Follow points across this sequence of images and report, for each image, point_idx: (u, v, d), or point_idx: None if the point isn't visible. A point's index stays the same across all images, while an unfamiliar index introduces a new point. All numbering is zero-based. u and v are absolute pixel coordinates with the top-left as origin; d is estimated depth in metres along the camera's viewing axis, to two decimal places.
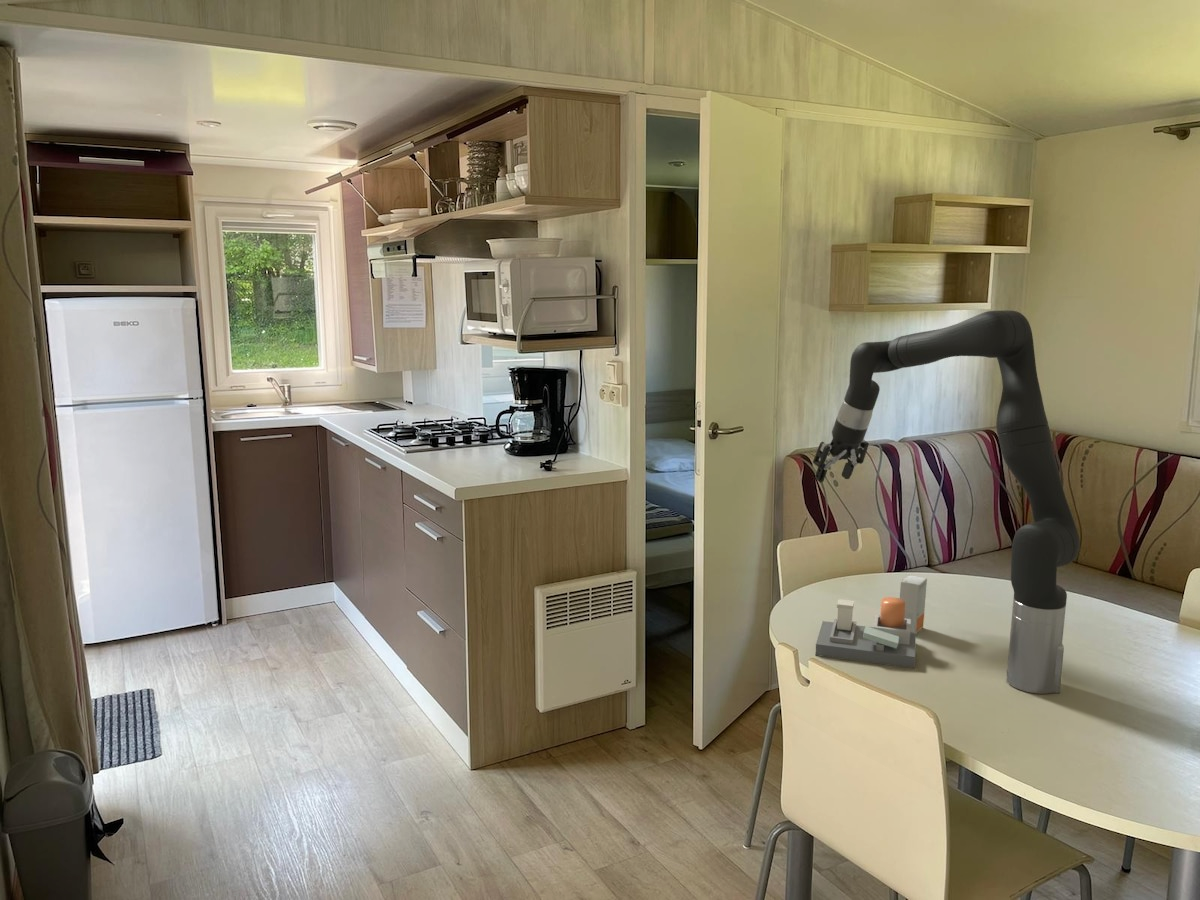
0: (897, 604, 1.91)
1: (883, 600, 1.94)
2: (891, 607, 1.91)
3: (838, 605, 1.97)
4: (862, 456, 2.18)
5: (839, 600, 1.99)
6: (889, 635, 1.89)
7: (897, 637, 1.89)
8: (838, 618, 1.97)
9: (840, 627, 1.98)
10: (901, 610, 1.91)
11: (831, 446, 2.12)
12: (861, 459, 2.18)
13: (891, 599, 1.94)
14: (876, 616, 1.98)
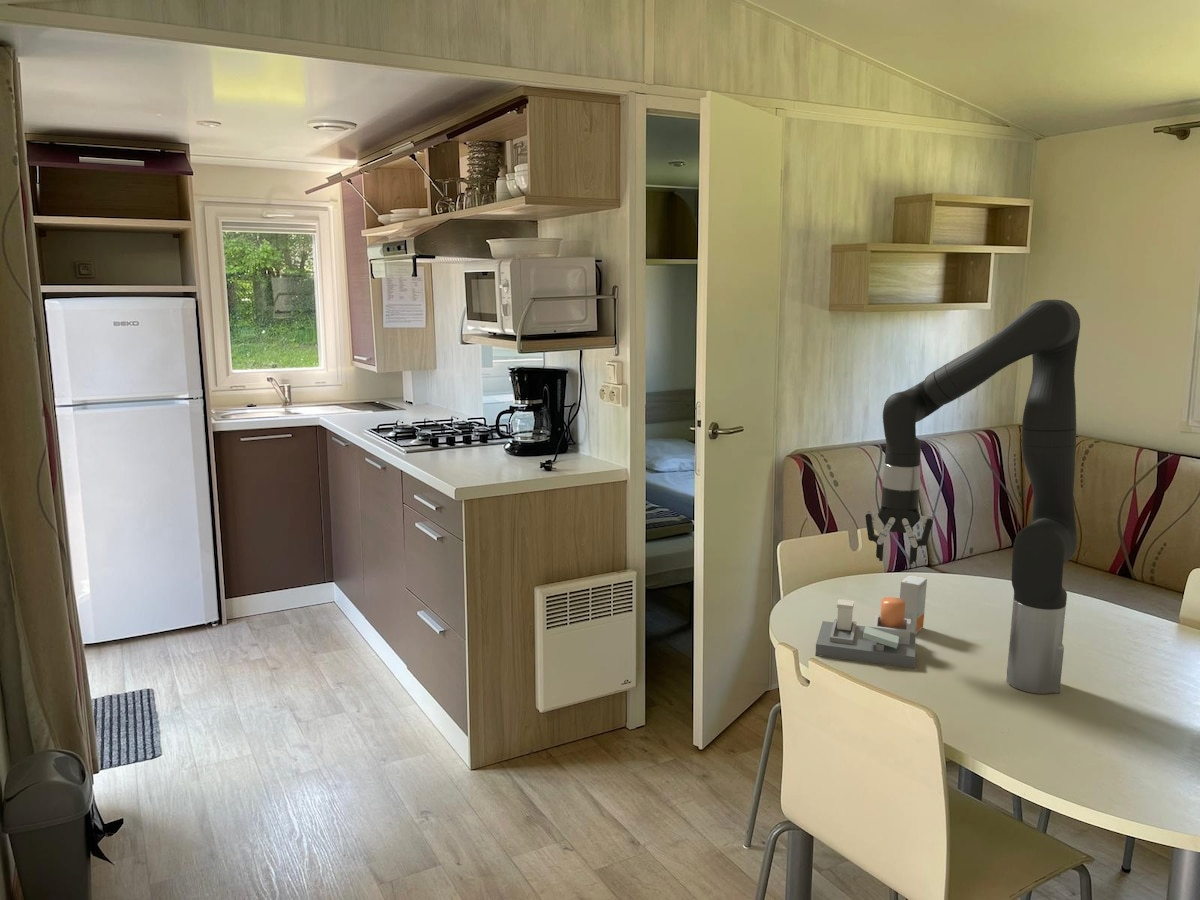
0: (897, 604, 1.91)
1: (883, 600, 1.94)
2: (891, 607, 1.91)
3: (838, 605, 1.97)
4: (924, 535, 1.88)
5: (839, 600, 1.99)
6: (889, 635, 1.89)
7: (897, 637, 1.89)
8: (838, 618, 1.97)
9: (840, 627, 1.98)
10: (901, 610, 1.91)
11: (876, 514, 1.91)
12: (922, 539, 1.88)
13: (891, 599, 1.94)
14: (876, 616, 1.98)
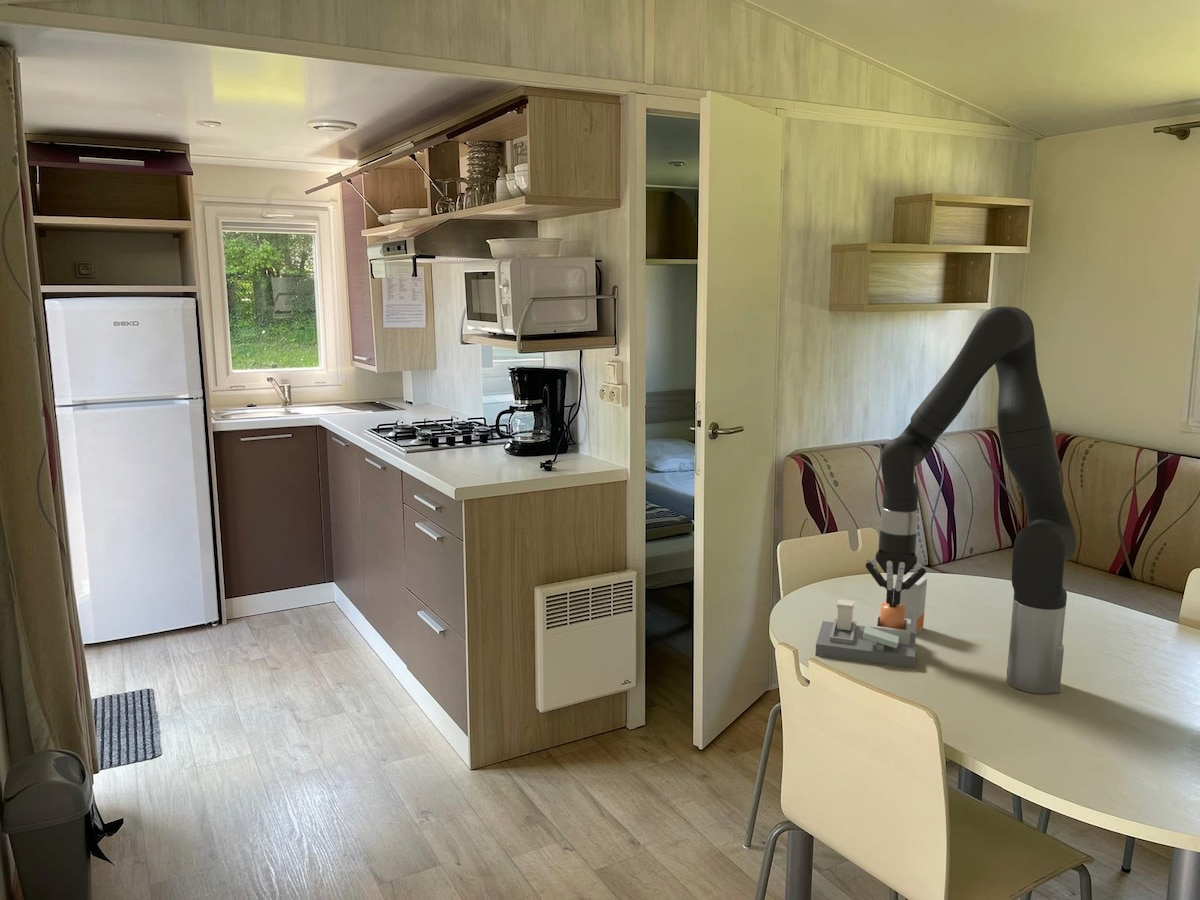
0: (897, 609, 1.92)
1: (883, 605, 1.94)
2: (891, 612, 1.91)
3: (838, 605, 1.97)
4: (911, 581, 1.90)
5: (839, 600, 1.99)
6: (889, 635, 1.89)
7: (897, 637, 1.89)
8: (838, 618, 1.97)
9: (840, 627, 1.98)
10: (900, 614, 1.91)
11: (874, 560, 1.93)
12: (906, 583, 1.91)
13: None
14: (876, 616, 1.98)
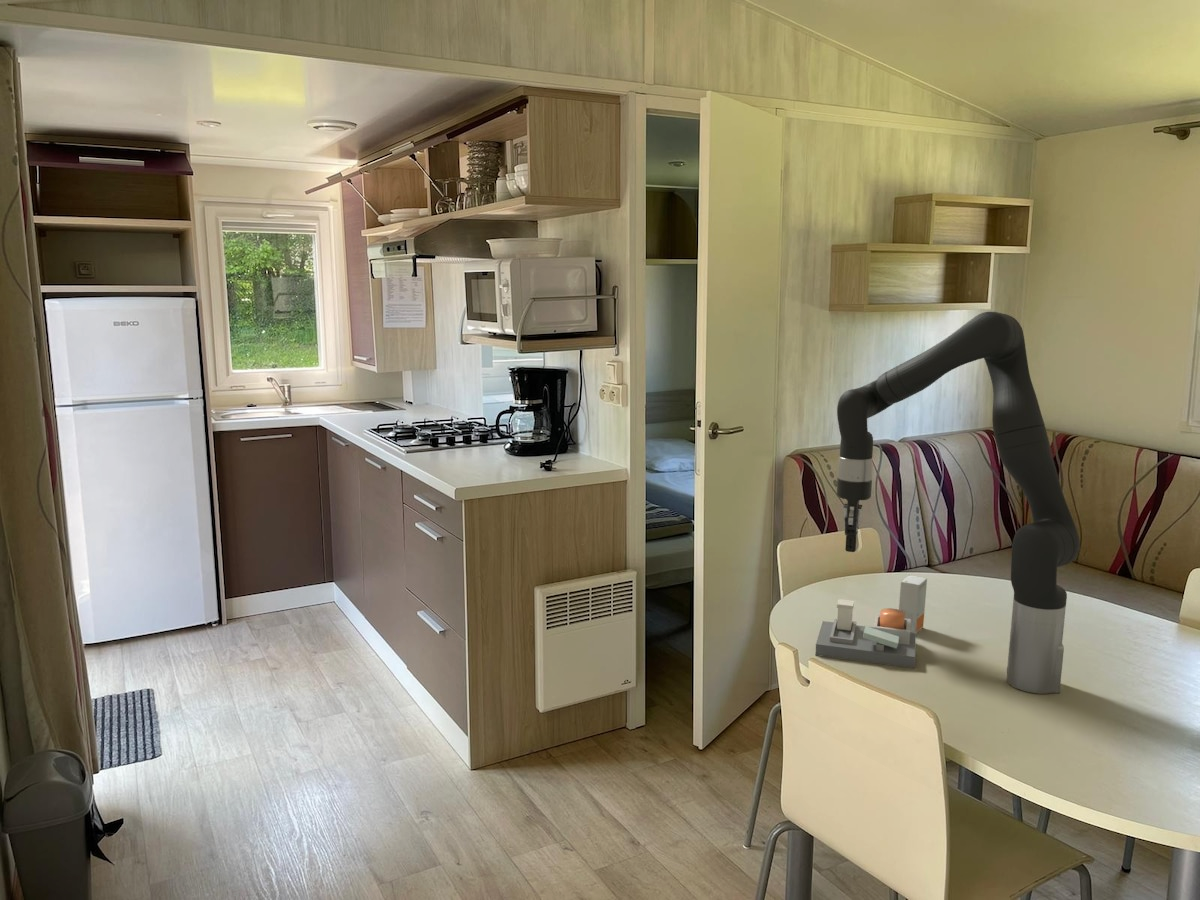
0: (896, 615, 1.92)
1: (882, 611, 1.94)
2: (891, 619, 1.92)
3: (838, 605, 1.97)
4: None
5: (839, 600, 1.99)
6: (889, 635, 1.89)
7: (897, 637, 1.89)
8: (838, 618, 1.97)
9: (840, 627, 1.98)
10: (900, 621, 1.92)
11: (853, 513, 1.97)
12: None
13: (891, 611, 1.95)
14: (876, 616, 1.98)
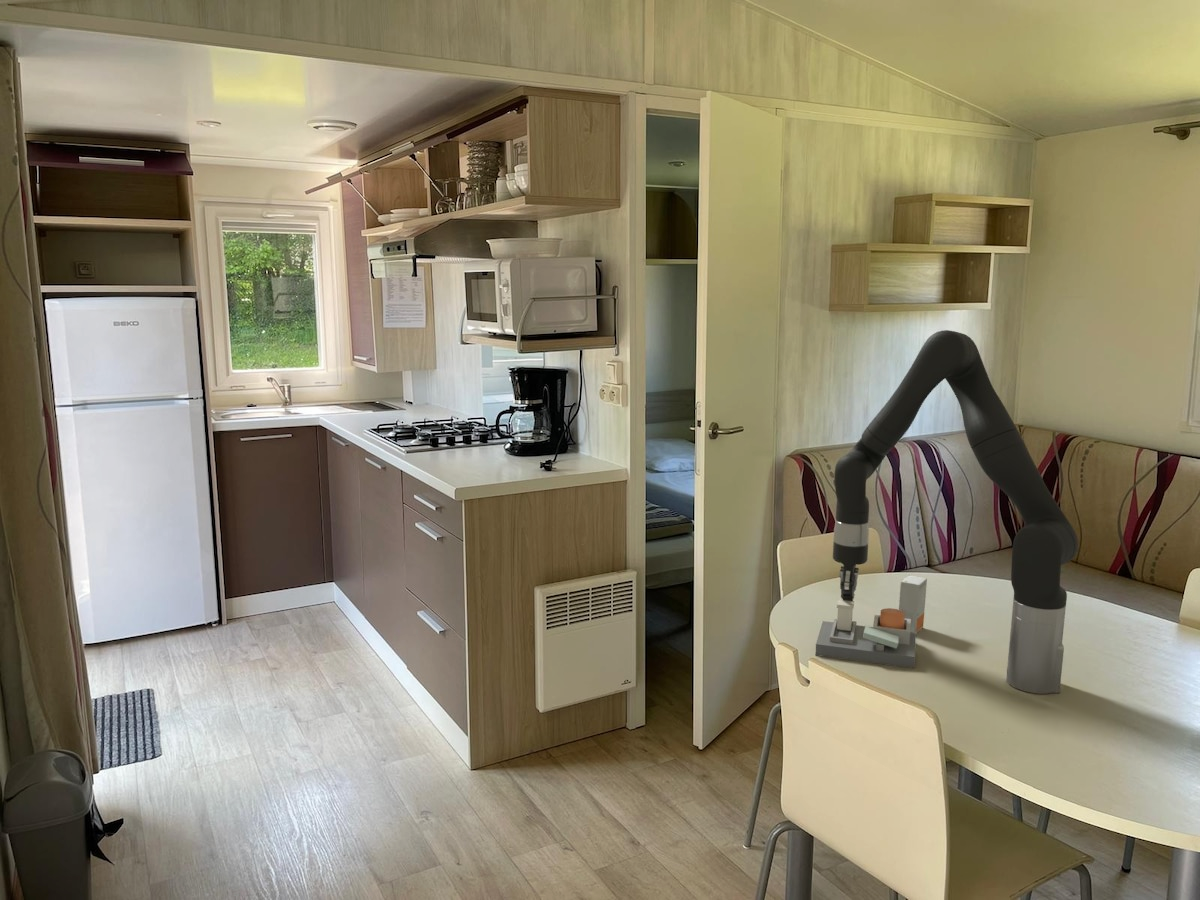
0: (896, 615, 1.92)
1: (882, 611, 1.94)
2: (891, 619, 1.92)
3: (838, 605, 1.97)
4: None
5: (839, 600, 1.99)
6: (889, 635, 1.89)
7: (897, 637, 1.89)
8: (838, 618, 1.97)
9: (840, 627, 1.98)
10: (900, 621, 1.92)
11: (849, 578, 1.97)
12: None
13: (891, 611, 1.95)
14: (876, 616, 1.98)
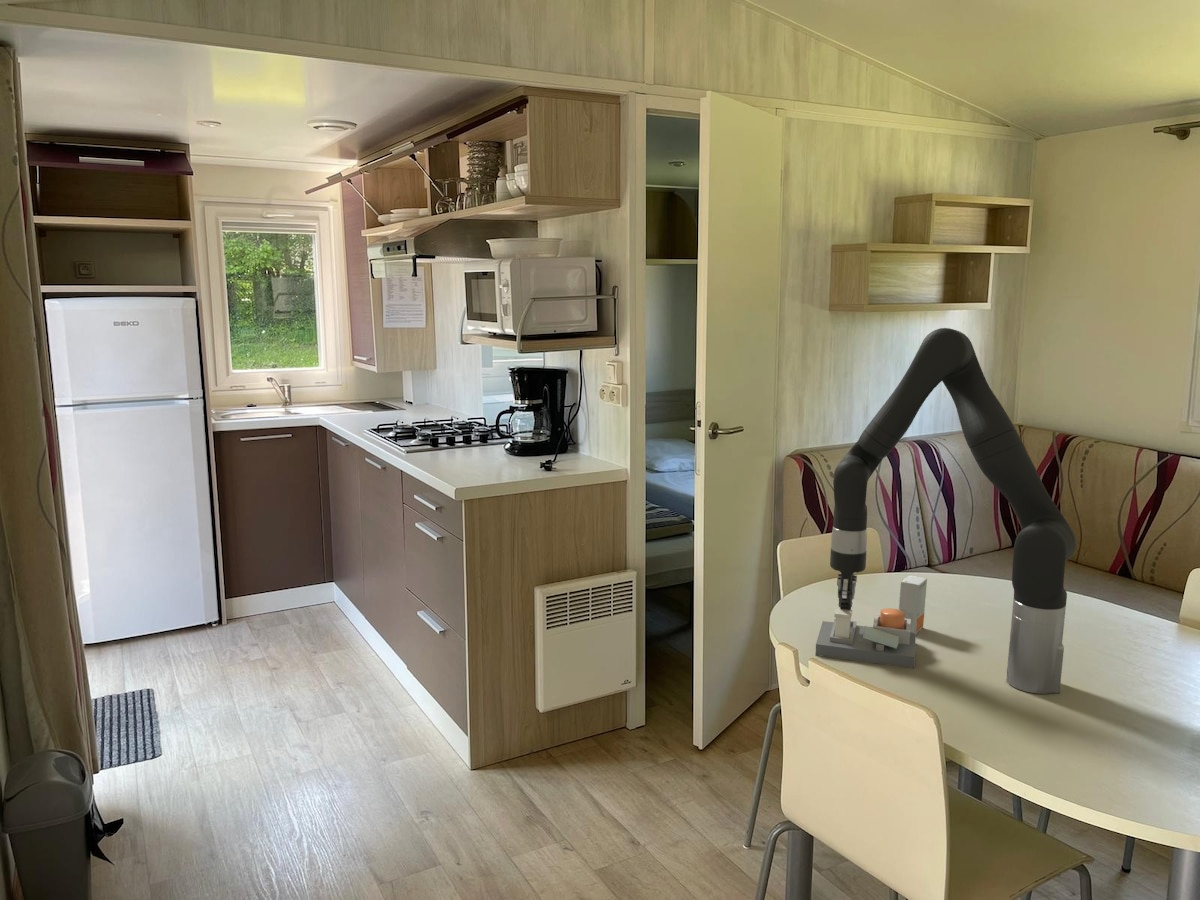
0: (896, 615, 1.92)
1: (882, 611, 1.94)
2: (891, 619, 1.92)
3: (836, 615, 1.91)
4: None
5: (837, 609, 1.93)
6: (889, 635, 1.89)
7: (897, 637, 1.89)
8: (836, 628, 1.92)
9: None
10: (900, 621, 1.92)
11: (847, 586, 1.91)
12: None
13: (891, 611, 1.95)
14: (876, 616, 1.98)
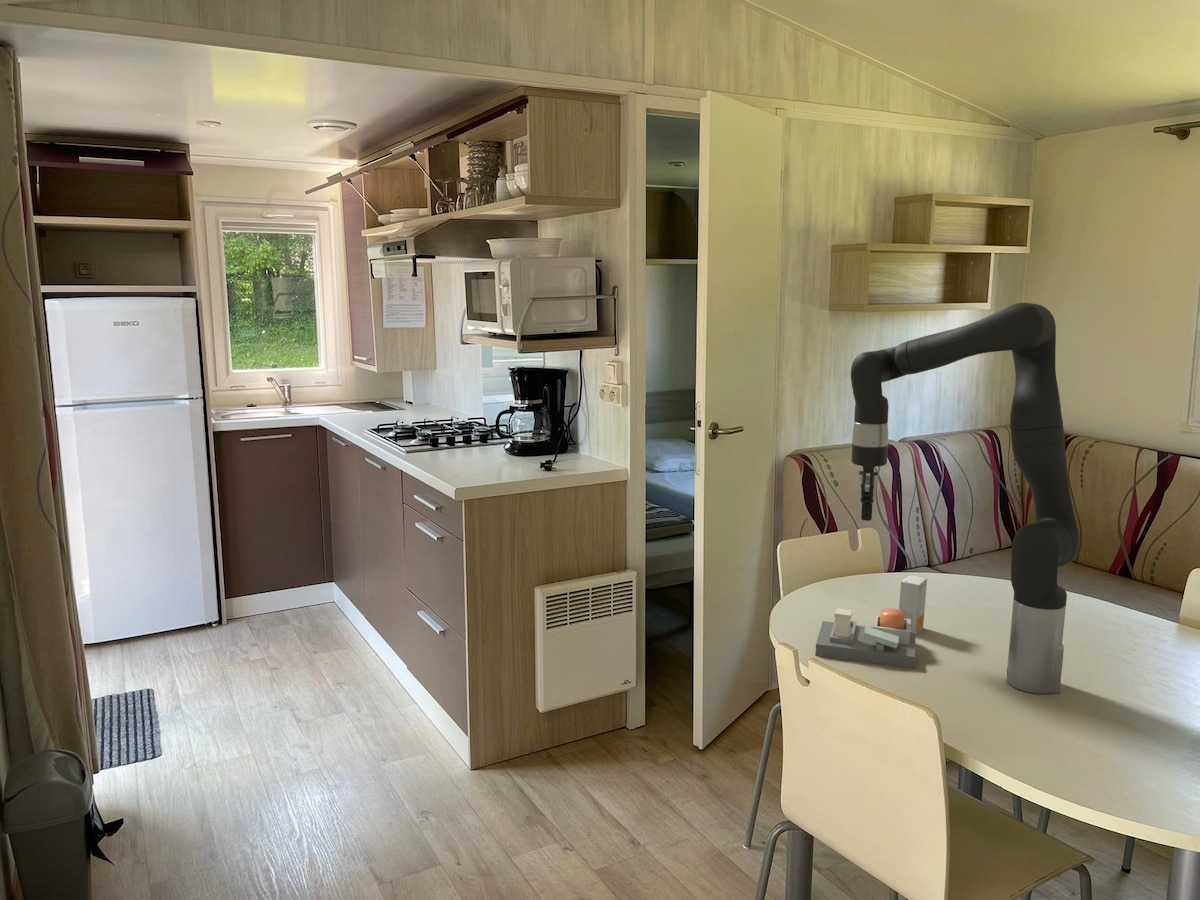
0: (896, 615, 1.92)
1: (882, 611, 1.94)
2: (891, 619, 1.92)
3: (836, 614, 1.91)
4: None
5: (837, 609, 1.94)
6: (889, 635, 1.89)
7: (897, 637, 1.89)
8: (836, 628, 1.92)
9: None
10: (900, 621, 1.92)
11: (869, 479, 1.92)
12: None
13: (891, 611, 1.95)
14: (876, 616, 1.98)
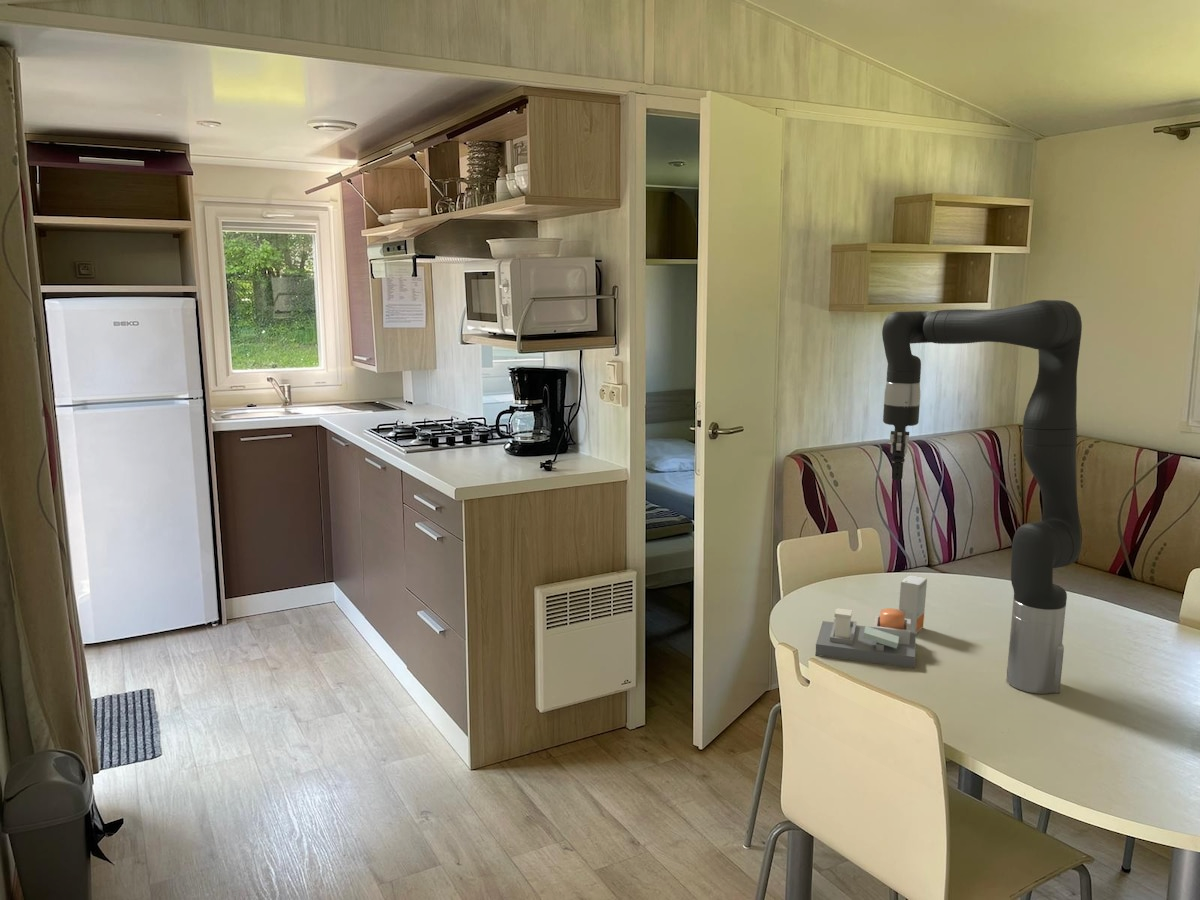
0: (896, 615, 1.92)
1: (882, 611, 1.94)
2: (891, 619, 1.92)
3: (836, 614, 1.91)
4: None
5: (837, 609, 1.94)
6: (889, 635, 1.89)
7: (897, 637, 1.89)
8: (836, 628, 1.92)
9: None
10: (900, 621, 1.92)
11: (901, 438, 1.94)
12: None
13: (891, 611, 1.95)
14: (876, 616, 1.98)
